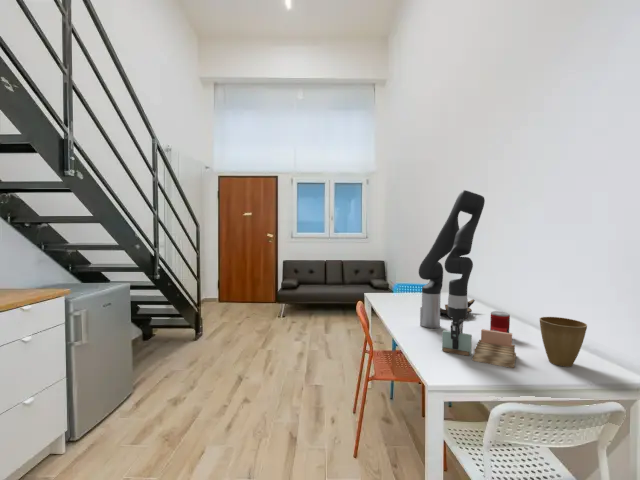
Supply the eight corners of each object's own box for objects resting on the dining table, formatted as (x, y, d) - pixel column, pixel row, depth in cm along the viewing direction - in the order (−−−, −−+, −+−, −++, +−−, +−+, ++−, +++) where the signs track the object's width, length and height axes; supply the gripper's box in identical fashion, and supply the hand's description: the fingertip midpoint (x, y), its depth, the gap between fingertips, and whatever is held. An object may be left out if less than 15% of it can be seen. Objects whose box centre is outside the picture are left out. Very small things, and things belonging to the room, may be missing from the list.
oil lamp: (423, 310, 221) (423, 298, 221) (470, 310, 224) (470, 297, 223) (438, 319, 199) (438, 306, 198) (490, 319, 201) (490, 305, 201)
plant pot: (568, 373, 126) (570, 328, 126) (529, 359, 140) (530, 318, 140) (594, 367, 132) (596, 324, 132) (554, 354, 146) (555, 314, 145)
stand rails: (442, 351, 148) (442, 347, 148) (444, 348, 152) (445, 345, 151) (468, 356, 143) (468, 352, 143) (470, 352, 146) (470, 349, 146)
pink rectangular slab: (480, 349, 147) (481, 330, 147) (481, 348, 148) (481, 329, 148) (511, 354, 141) (511, 334, 141) (511, 353, 143) (512, 333, 142)
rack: (472, 360, 138) (472, 349, 138) (478, 349, 151) (478, 338, 151) (513, 368, 131) (514, 356, 131) (516, 355, 144) (516, 344, 143)
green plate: (442, 350, 149) (442, 331, 149) (443, 349, 151) (443, 330, 150) (470, 355, 144) (471, 335, 143) (471, 354, 145) (471, 334, 145)
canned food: (511, 339, 165) (512, 315, 165) (492, 338, 167) (493, 314, 166) (506, 334, 172) (506, 311, 172) (488, 333, 174) (488, 310, 174)
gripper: (451, 301, 154) (450, 340, 155) (444, 307, 142) (443, 350, 143) (470, 303, 151) (469, 343, 151) (464, 310, 138) (463, 354, 139)
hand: (456, 346), depth 147 cm, fingers open, 5 cm apart
